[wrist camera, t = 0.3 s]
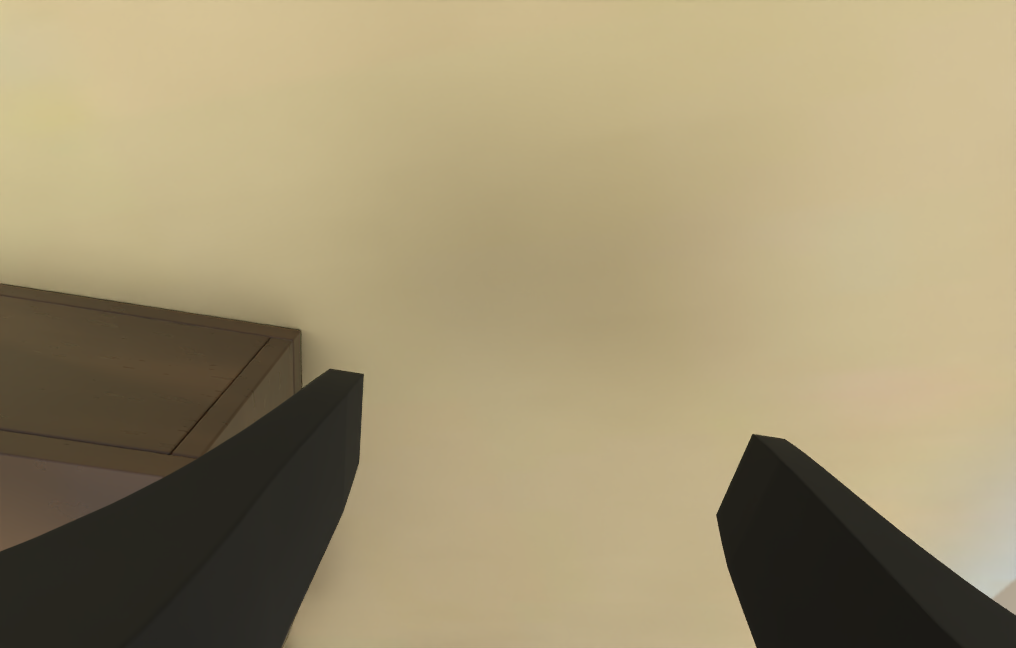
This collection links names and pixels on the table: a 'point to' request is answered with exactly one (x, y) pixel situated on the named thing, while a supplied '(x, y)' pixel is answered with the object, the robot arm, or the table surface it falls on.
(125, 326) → the cabinet
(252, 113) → the table surface
